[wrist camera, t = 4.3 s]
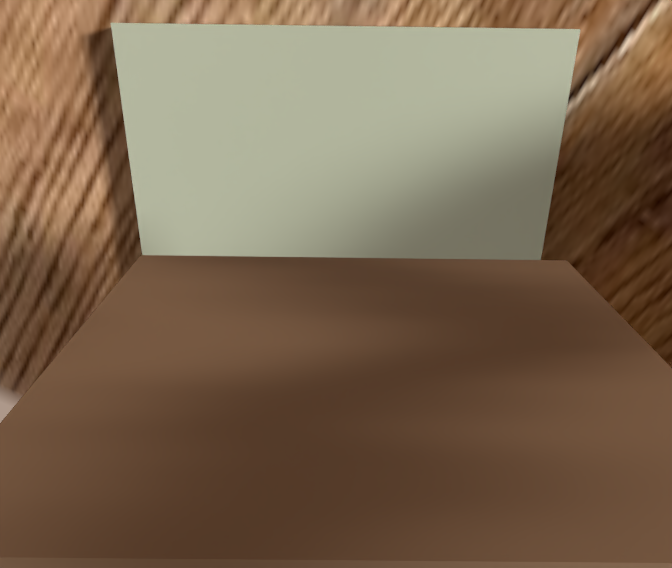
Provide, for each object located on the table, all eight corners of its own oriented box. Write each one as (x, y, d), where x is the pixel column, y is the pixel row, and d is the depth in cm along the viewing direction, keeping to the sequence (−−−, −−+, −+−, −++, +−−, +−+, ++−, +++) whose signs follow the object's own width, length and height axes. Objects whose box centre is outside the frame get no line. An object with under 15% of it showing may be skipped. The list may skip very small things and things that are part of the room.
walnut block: (566, 260, 8) (862, 565, 4) (508, 562, 11) (637, 966, 6) (141, 254, 8) (-112, 555, 4) (182, 558, 11) (66, 965, 6)
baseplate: (565, 29, 16) (580, 28, 15) (506, 395, 21) (514, 412, 20) (123, 23, 16) (110, 22, 15) (171, 392, 20) (163, 409, 20)
